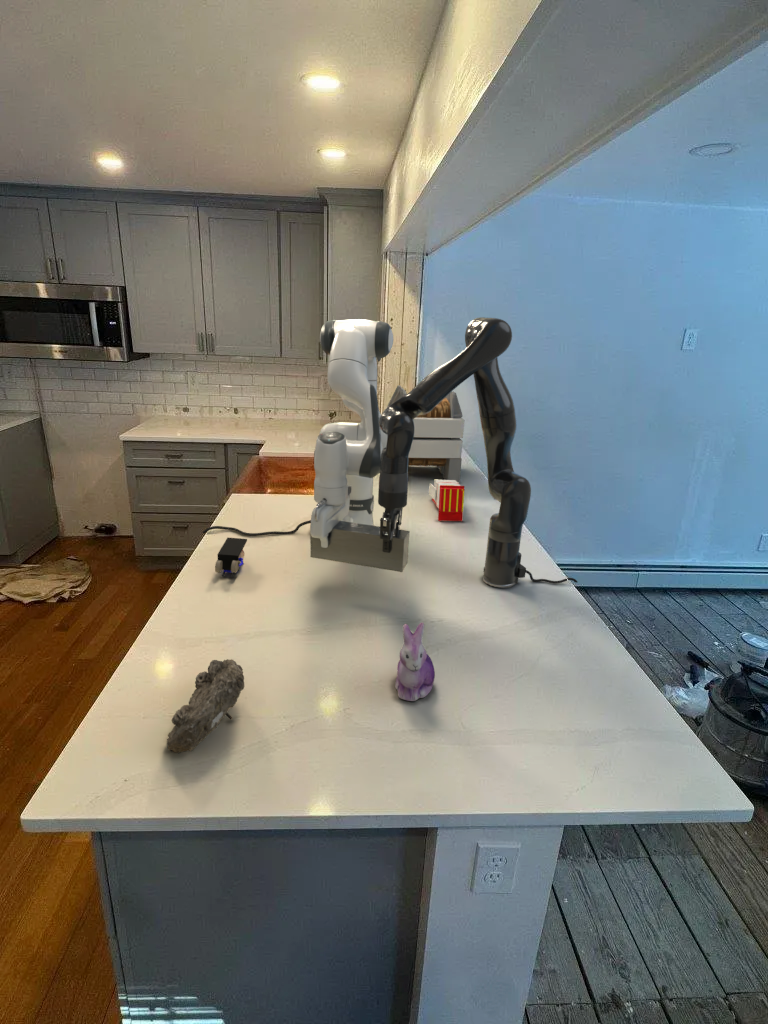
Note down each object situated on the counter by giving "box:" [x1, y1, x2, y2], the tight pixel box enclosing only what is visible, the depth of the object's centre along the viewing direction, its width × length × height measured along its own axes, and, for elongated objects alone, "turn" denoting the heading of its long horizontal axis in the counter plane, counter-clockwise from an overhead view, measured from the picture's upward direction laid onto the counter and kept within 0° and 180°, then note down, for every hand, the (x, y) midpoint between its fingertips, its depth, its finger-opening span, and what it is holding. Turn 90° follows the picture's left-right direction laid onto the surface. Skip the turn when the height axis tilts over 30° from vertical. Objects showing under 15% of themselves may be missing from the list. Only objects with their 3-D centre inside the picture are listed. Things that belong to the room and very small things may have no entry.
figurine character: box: [214, 537, 248, 578], centre depth 166 cm, size 7×8×15 cm
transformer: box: [386, 384, 465, 484], centre depth 268 cm, size 34×33×41 cm
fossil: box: [166, 658, 245, 754], centre depth 106 cm, size 22×10×15 cm
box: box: [309, 521, 411, 573], centre depth 154 cm, size 26×6×10 cm, turn 74°
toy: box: [428, 479, 465, 522], centre depth 225 cm, size 12×13×30 cm
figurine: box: [394, 622, 436, 702], centre depth 116 cm, size 9×10×15 cm
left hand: (330, 541), depth 156 cm, fingers closed on box, 6 cm apart
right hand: (390, 547), depth 151 cm, fingers closed on box, 6 cm apart
